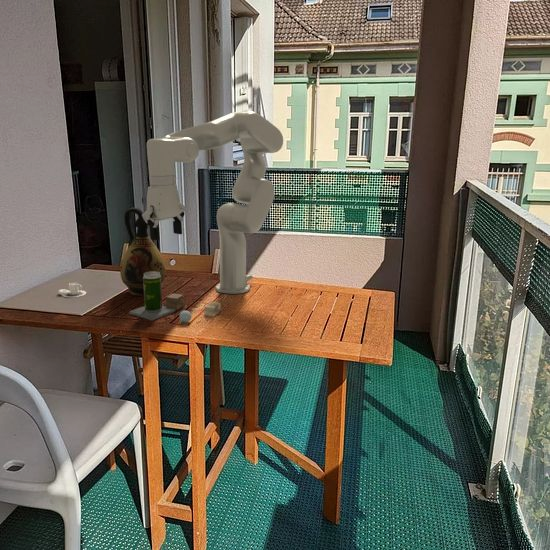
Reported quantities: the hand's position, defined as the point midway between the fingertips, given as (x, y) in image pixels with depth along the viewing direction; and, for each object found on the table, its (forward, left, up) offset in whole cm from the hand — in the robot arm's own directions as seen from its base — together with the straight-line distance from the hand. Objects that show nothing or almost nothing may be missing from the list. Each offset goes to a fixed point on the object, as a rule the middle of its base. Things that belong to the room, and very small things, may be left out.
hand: (166, 236), depth 152 cm
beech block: (-5, +14, -24) cm, 28 cm away
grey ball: (+6, +12, -22) cm, 26 cm away
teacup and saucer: (+7, -40, -25) cm, 48 cm away
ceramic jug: (-7, -21, -24) cm, 33 cm away
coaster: (+6, -2, -24) cm, 25 cm away
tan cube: (-2, 0, -24) cm, 24 cm away
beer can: (+5, -2, -23) cm, 24 cm away
